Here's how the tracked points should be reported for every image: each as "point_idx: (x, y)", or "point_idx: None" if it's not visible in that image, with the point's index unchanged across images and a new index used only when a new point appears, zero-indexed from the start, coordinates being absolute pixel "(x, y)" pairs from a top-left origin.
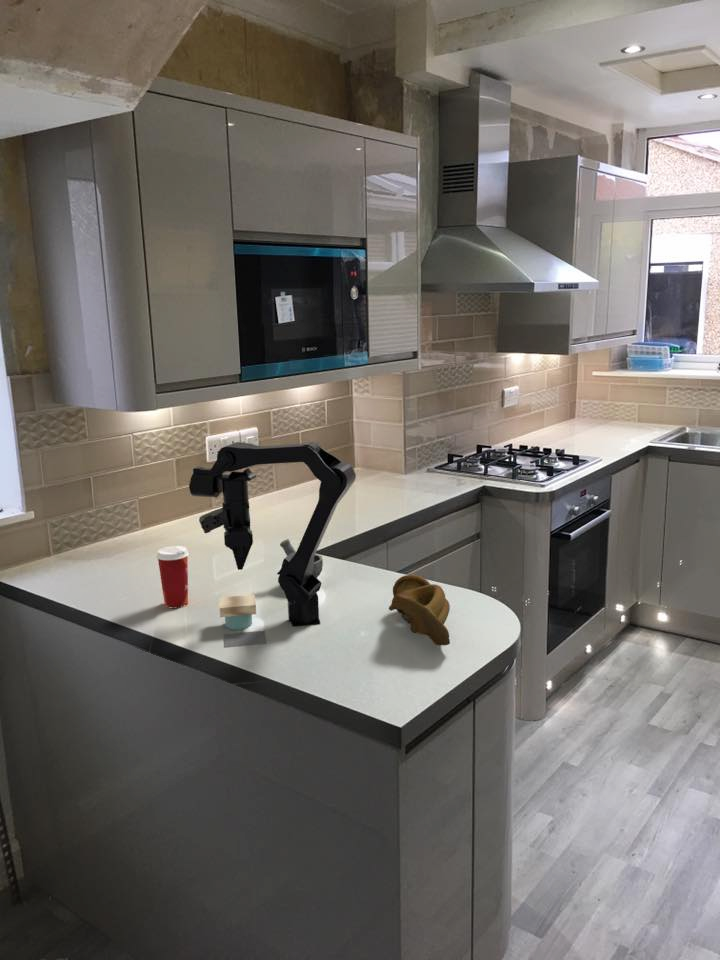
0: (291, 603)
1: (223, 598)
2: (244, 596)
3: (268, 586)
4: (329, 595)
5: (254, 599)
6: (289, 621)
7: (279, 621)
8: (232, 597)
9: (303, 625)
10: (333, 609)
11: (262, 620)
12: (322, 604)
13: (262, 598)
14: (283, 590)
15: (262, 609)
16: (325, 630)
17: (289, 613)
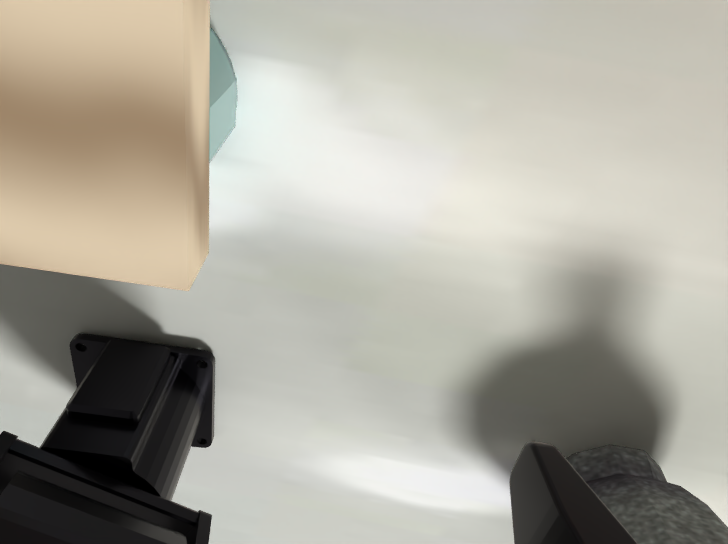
0: (53, 428)
1: (146, 27)
2: (161, 218)
3: (693, 356)
4: (412, 513)
5: (82, 271)
6: (110, 340)
7: (175, 299)
8: (158, 119)
9: (78, 376)
10: (257, 491)
11: (210, 229)
12: (325, 476)
13: (537, 295)
14: (18, 471)
15: (373, 262)
16: (39, 425)
17: (88, 373)
